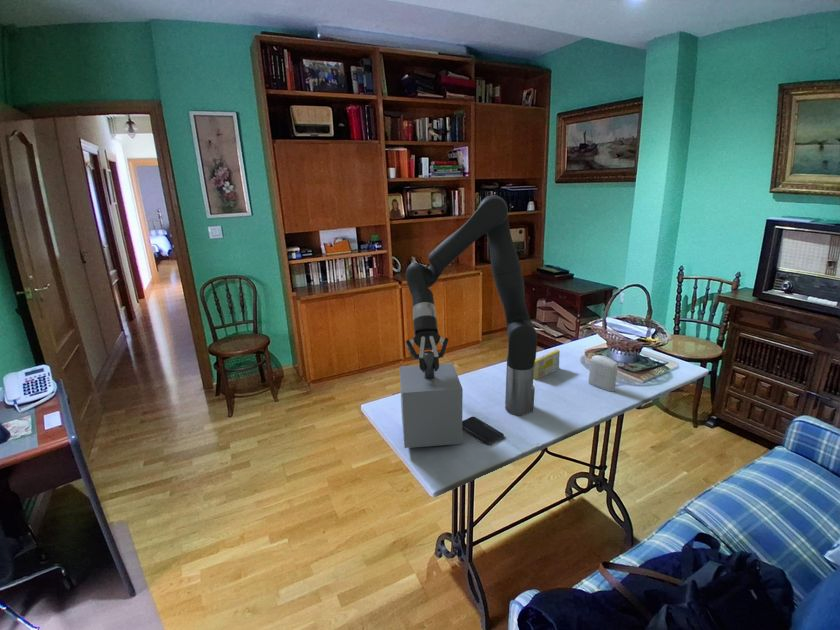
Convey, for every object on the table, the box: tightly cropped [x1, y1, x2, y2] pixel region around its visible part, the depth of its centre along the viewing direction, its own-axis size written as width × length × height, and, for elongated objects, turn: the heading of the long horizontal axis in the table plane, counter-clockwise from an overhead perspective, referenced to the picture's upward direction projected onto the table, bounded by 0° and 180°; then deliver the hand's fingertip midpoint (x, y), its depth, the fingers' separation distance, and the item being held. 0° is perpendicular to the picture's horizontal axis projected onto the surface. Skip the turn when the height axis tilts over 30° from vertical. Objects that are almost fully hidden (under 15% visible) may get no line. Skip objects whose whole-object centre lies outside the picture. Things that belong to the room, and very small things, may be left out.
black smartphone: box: [462, 416, 505, 446], centre depth 143 cm, size 8×1×15 cm
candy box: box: [533, 349, 561, 381], centre depth 181 cm, size 16×2×8 cm, turn 128°
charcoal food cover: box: [399, 350, 464, 449], centre depth 136 cm, size 18×18×27 cm
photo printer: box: [588, 354, 619, 392], centre depth 168 cm, size 10×4×12 cm, turn 38°
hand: (429, 370), depth 132 cm, fingers closed on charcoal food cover, 3 cm apart
